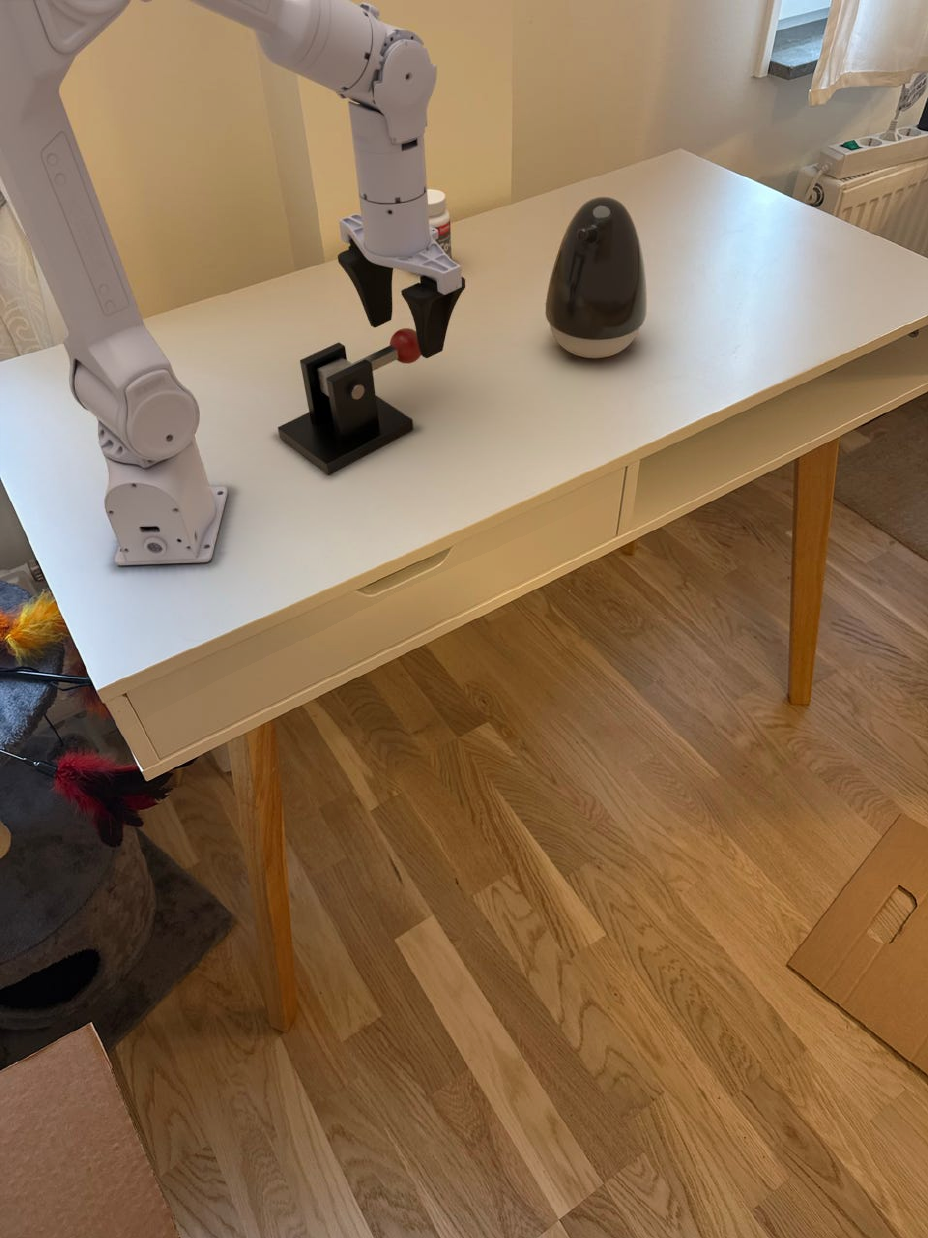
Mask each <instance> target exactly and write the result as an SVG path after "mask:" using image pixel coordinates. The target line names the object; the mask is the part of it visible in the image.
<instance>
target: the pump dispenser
mask: <svg viewBox="0 0 928 1238" xmlns="http://www.w3.org/2000/svg"><path fill="white" fill-rule="evenodd" d="M558 248H559V249H558V251H557V254H556V256H555V260H554V263H553V267H552V270H551V275H550V279H549V283H548V289H547V294H546V300H545V317H546V320H547V322H548V323H549V327H550V331H551V333H552V335H553V337H554V339H555V340H556V342H557V343H558V344H559V345H560V346H561V347H562V348H563V349H564V350H566V351H567V352H569V353H570V354H573V355H575V356H578V357H582V358H586V359H602V358H607V357H612V356H614V355H616V354H619V353H620V352H623V350H625V349H626V348H627V347H628V346H629V345H631V343H632V342H633V340H635V338H636V336H637V335H638V333H639V330H640V328H641V326H642V325H643V324H644V322H645V320H646V317H647V307H648V297H647V295H648V292H647V277H646V269H645V261H644V256H643V250H642V245H641V240H640V237H639V234H638V231H637V227H636V224H635V222H634V219H633V218H632V216H631V214H630V212H629V210H628V209H627V208H626V206H625V205H624V204H623V203H622V202H620V201H619V200H617V199H615V198H612V197H609V196H598V197H594V198H591V199H589V200H588V201H586V202H584V203H583V204H582V205H581V206H580V207H579V209H578V210H577V211H576V212H575V214H574V215H573V217H572V219H571V220H570V222H569V224H568V226H567V228H566V229H565V233H564V234H563V237H562V240H561V242H560V245H559V247H558Z"/></svg>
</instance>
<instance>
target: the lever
mask: <svg viewBox="0 0 928 1238" xmlns="http://www.w3.org/2000/svg"><path fill="white" fill-rule="evenodd" d="M421 357H422V355H421V352H420V350H419V346H418V340H417V334H416V329H413V328H408V327H405V328H404V327H403V328H401V329H397V330H396V331H395V332H394V333H393V335H392V336H391V337H390V341H389V345H387V346H385V347H384V348H382V349H379V350H377V351H375V352H373V353H371V354H369V355H367V356H365V357H363V358H361V359H359V360H357V361H354V362H352V363H351V362H350V361H349V360H348V359H347V360H345V359H344V358H339V359H337V360H335V361H333V362H331V363H329V364H327V365H324V366H322V367H320V368H318V369H317V371H318V376H319V382H320V388H321V392H323V393H324V394H326V395H327V396H328V397H329V394H328V387H327V381H326V378H327V377H329V376H331V375H333V374H335V373H337V372H339V371H341V370H344V369H346V368H348V367H350V366H352V365H354V364H356V363H358V362H360V361H362V360H364V359H366V360H368V361H369V362H371V363H372V368H373V372H374V371H376V370H378V369H380V368H382V367H384V366H386V365H388V364H391V363H392V362H394V361H397V362H399V363H401V364H406V365H409V364H412V363H415V362H416V361H418V360H419V359H420V358H421Z"/></svg>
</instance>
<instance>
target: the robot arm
mask: <svg viewBox="0 0 928 1238" xmlns="http://www.w3.org/2000/svg"><path fill="white" fill-rule="evenodd" d="M131 1H132V0H0V179H1V181H2V184H3V186H4V187H5V190H6V193H7V195H8V197H9V199H10V202H11V205H12V206H13V209H14V211H15V213H16V215H17V218H18V220H19V222H20V224H21V227H22V229H23V232H24V234H25V236H26V238H27V241H28V243H29V245H30V247H31V250H32V252H33V254H34V257H35V259H36V261H37V263H38V266H39V268H40V270H41V272H42V274H43V277H44V279H45V281H46V284H47V286H48V288H49V291H50V293H51V295H52V297H53V300H54V302H55V304H56V306H57V308H58V311H59V313H60V315H61V317H62V320H63V322H64V325H65V327H66V329H67V331H68V333H67V334H66V335H65V337H64V338H63V339H62V344H63V346H64V349H65V351H66V354H67V356H68V360H69V372H68V373H69V375H68V384H69V385H68V386H69V388H70V392H71V394H72V396H73V398H74V400H75V402H77V404H79V405H80V407H82V408H83V409H84V410H86V411H88V412H89V413H91V414H92V415H93V416H94V417H95V418H96V421H97V437H98V438H97V439H98V444H99V447H100V450H101V452H102V455H103V457H104V461H105V463H106V468H107V473H108V479H107V480H108V483H107V488H106V492H105V496H104V504H103V505H104V510H105V513H106V516H107V518H108V521H109V523H110V525H111V528H112V530H113V533H114V535H115V538H116V541H117V543H118V548H117V551H116V554H115V556H114V562H115V564H116V565H117V566H134V565H135V566H136V565H137V566H138V565H139V566H140V565H160V564H163V565H164V564H187V563H188V564H189V563H190V564H191V563H207V562H209V561H211V560H212V558H213V554H214V551H215V546H216V542H217V538H218V533H219V529H220V525H221V521H222V517H223V513H224V510H225V505H226V501H227V497H228V488H227V487H226V486H222V485H219V486H211V485H210V482H209V479H208V476H207V472H206V468H205V466H204V462H203V459H202V455H201V451H200V449H199V444H198V442H197V439H196V434H197V432H198V430H199V429H198V428H199V426H200V419H201V412H200V406H199V402H198V401H197V399H196V396H195V395H194V393H192V391H191V390H190V389H189V388H187V387H186V386H185V385H183V383H182V382H180V381H179V379H178V378H177V376H176V374H175V372H174V369H173V367H172V363H171V362H170V360H169V358H168V357H167V356H166V355H167V354H165V352H164V350H163V349H162V348H161V346H159V344H158V342H157V341H156V339H155V338H154V337H153V335H152V333H151V332H150V330H149V329H148V328H147V326H146V325H145V322H144V320H143V316H142V313H141V311H140V308H139V305H138V303H137V300H136V297H135V295H134V292H133V290H132V287H131V284H130V281H129V278H128V276H127V273H126V271H125V268H124V265H123V262H122V260H121V257H120V255H119V252H118V249H117V246H116V243H115V241H114V238H113V235H112V233H111V230H110V227H109V225H108V222H107V219H106V216H105V213H104V211H103V207H102V205H101V203H100V200H99V198H98V195H97V192H96V190H95V187H94V184H93V181H92V178H91V176H90V174H89V170H88V168H87V165H86V163H85V160H84V157H83V154H82V152H81V149H80V146H79V143H78V141H77V138H76V136H75V132H74V130H73V127H72V125H71V121H70V119H69V116H68V113H67V111H66V108H65V105H64V102H63V100H62V97H61V95H60V87H61V85H62V83H63V81H64V79H65V77H66V76H67V74H68V72H69V70H70V68H71V66H72V64H73V62H74V61H75V59H76V57H77V56H78V55H79V54H80V53H81V52H82V51H83V50H84V49H86V48H87V47H88V46H89V45H90V44H91V43H92V42H93V41H94V40H96V38H98V36H100V34H102V33H103V32H104V31H105V30H106V29H107V28H108V27H109V26H111V25H112V24H113V23H114V22H115V21H116V20H117V19H118V18H119V17H120V16H121V15H122V13H124V11H125V10H126V9H127V7H128V6H129V5H130V3H131ZM140 1H141V2H144V3H150V2H153V0H140ZM187 1H188V2H190V3H193V4H195V5H197V6H199V7H201V8H203V9H206V10H208V11H210V12H213V13H215V14H218V15H220V16H222V17H224V18H226V19H228V20H230V21H233V22H235V23H238V24H239V25H241V26H243V27H246V28H248V29H251V30H253V31H254V32H255V35H256V38H257V41H258V44H259V47H260V49H261V52H262V53H263V55H264V56H265V57H266V59H267V60H268V61H270V62H271V63H273V64H275V65H276V66H278V67H281V68H283V69H286V70H288V71H290V72H291V73H294V74H296V75H298V76H301V77H303V78H305V79H307V80H309V81H311V82H313V83H316V84H318V85H321V86H322V87H325V88H327V89H329V90H331V91H333V92H335V94H336V95H337V96H338V97H339V98H340V99H343V100H344V99H348V102H347V104H348V105H347V106H348V113H349V120H350V122H349V123H350V129H351V139H352V146H353V156H354V165H355V172H356V173H355V174H356V182H357V189H358V199H359V208H360V214H359V213H356V212H355V213H353V214H350V215H348V216H346V217H343V218H340V219H339V220H338V223H339V231H340V238H341V241H343V242H344V243H346V244H349V245H348V246H347V248H348V249H346V250H344V251H342V252H340V253H339V254H338V255H337V263H338V264H339V265H340V266H341V268H343V270H344V271H345V273H346V274H347V276H348V277H349V279H350V281H351V283H352V284H353V286H354V289H355V290H356V293H357V295H358V297H359V299H360V302H361V304H362V307H363V309H364V313H365V315H366V317H367V321H368V322H369V324H370V326H371V327H373V328H374V329H375V328H377V327H380V326H382V325H384V324H386V323H389V322H390V321H392V318H393V275H394V274H393V273H394V270H395V269H396V270H400V271H403V272H407V273H408V272H409V273H412V274H414V275H417V276H418V277H419V282H416V283H414V284H412V285H410V286H408V287H405V288H403V289H401V292H400V293H401V297H403V299H404V301H405V302H406V304H407V307H408V309H409V312H410V313H411V316H412V319H413V323H414V327H415V331H416V334H417V340H418V346H419V350H420V352H421V357H422V358H425V359H429V358H431V357H433V356H435V355H437V354H439V353H442V352H443V350H444V345H445V341H446V336H447V331H448V328H449V325H450V324H449V323H450V321H451V317H452V314H453V312H454V309H455V307H456V305H457V303H458V300H459V299H460V297H461V295H462V293H463V292H464V290H465V288H466V279H465V277H464V276H462V265H461V264H459V263H457V262H455V261H454V260H453V259H452V260H451V259H450V258H449V256H448V255H447V254H446V253H445V252H444V251H443V249H442V248H441V247H440V246H439V245H438V243H437V242H436V241H435V240H436V239H438V230H437V229H435V228H433V227H431V226H429V211H428V194H427V189H428V180H427V179H428V178H427V165H426V164H427V163H426V148H425V147H426V146H425V133H426V127H428V107H429V102H430V100H431V98H432V96H433V93H434V92H435V91H434V90H435V87H436V83H437V75H438V66H437V65H436V64H433V63H432V61H431V56H430V55H429V52H428V49H427V47H424V45H425V43H424V41H423V40H422V39H421V37H420V36H419V35H418V34H416V33H415V32H413V31H410V30H408V29H405V28H401V27H398V26H394V25H392V24H390V23H389V24H388V23H385V22H383V21H382V20H381V18H379V17H380V13H381V12H380V9H379V8H377V7H376V6H374V5H372V4H371V3H368V2H364V1H362V2H360V3H359V5H357V4H356V3H354V2H353V1H351V0H187Z"/></svg>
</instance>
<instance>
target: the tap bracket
mask: <svg viewBox="0 0 928 1238" xmlns="http://www.w3.org/2000/svg"><path fill="white" fill-rule="evenodd" d="M347 356H348V355H347V350H346V345H344V344H343V343H341V342H338V341H337V342H336V343H334V344H332V345H330V346H328V347H326V348H323V349H321V350H319V351H317V352H314V353H312V354H310V355H307V356H306V357H304V358H301V359H300V360H299V364H300V369H301V375H302V380H303V385H304V389H305V390H304V391H305V397H306V403H307V407H308V412H305V413H304V414H302V415H300V416H297V417H296V418H294V419H292V420H290V421H288V422H286V423H283V424H281V425H280V426H278V427H277V431H278V437H279V439H281V440H282V441H284V442H285V443H286V444H287V445H288V446H290V447H291V448H293V449H294V450H296V452H298V453H299V454H301V455H302V456H303V457H304V458H305V459H307V460H308V461H310V462H311V463H312V464H313V465H314V466H316V467H318V469H320V470H321V471H323V472H324V473H325V474H326V475H328V476H330V475H332V474H334V473H336V472H338V471H339V470H342V469H343V468H344V467H347V466H349V465H351V464H352V463H355V462H356V461H358V460H360V459H361V458H363V457H366V456H367V455H369V454H371V453H373V452H375V451H377V450H378V449H380V448H382V447H384V446H386V445H389V444H390V443H391V442H393V441H396V440H397V439H400V438H401V437H403V436H404V435H407V434H408V433H410V432H412V431H413V430H414V422H413V421H414V420H413V418H412V417H409V416H408V415H406V414H405V413H404V412H402V411H400V410H399V409H397V408H396V407H395V406H393V405H392V404H390V403H388V402H387V401H385V400H384V399H382V398H380V397H379V396H378V395H376V393H377V392H376V386H375V377H374V371H373V368H372V363H371V362H369V361H368V360H366V359H364V360H362V361H360V362H358V363H356V364H354V365H352V366H350V367H348V368H346V369H344V370H341V371H339V372H337V373H335V374H333V375H331V376H329V377H327V378H326V381H327V387H328V394H329V397H328V396H327V395H326V394H324V393H323V392H321V388H320V382H319V376H318V371H317V369H318V368H320V367H322V366H324V365H327V364H329V363H331V362H333V361H335V360H337V359H339V358H344V359H345V360H347V361H348V357H347Z"/></svg>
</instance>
